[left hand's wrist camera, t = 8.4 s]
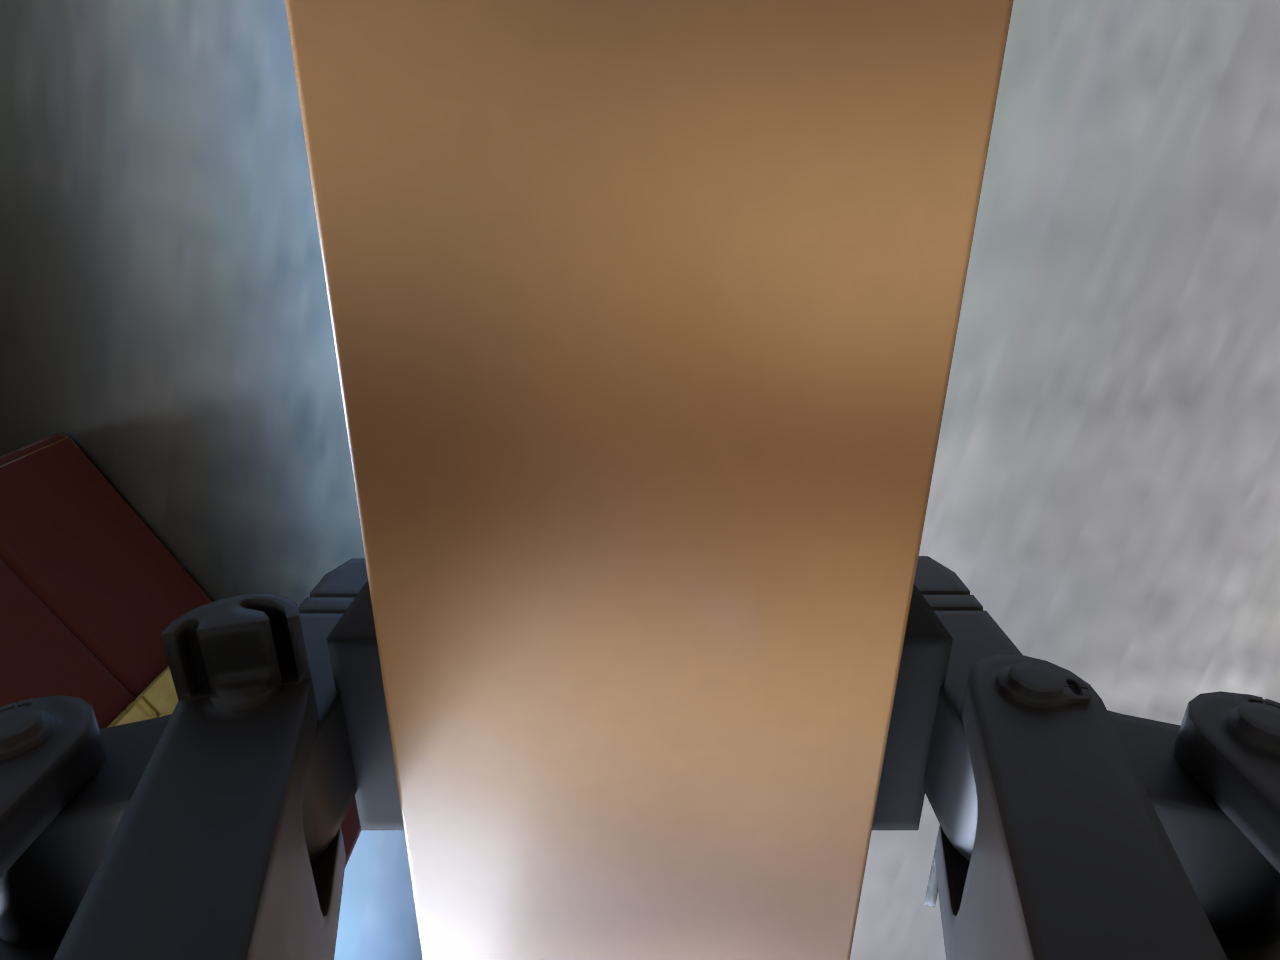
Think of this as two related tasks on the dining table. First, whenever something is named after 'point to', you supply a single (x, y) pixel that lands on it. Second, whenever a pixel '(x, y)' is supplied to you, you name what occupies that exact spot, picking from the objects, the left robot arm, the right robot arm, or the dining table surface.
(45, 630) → the box
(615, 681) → the beam
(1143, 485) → the dining table surface
